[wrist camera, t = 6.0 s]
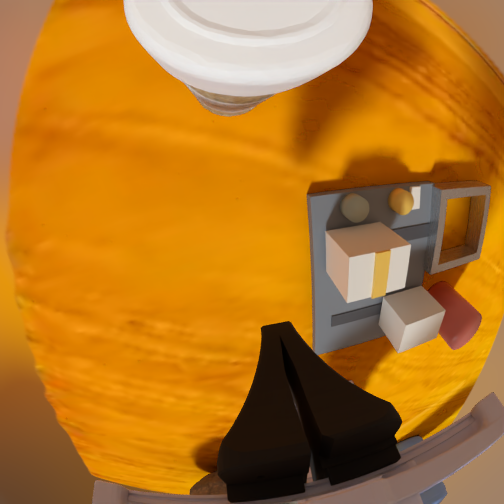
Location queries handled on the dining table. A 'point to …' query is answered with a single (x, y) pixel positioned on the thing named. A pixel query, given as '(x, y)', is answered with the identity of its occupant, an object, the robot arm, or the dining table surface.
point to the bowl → (213, 486)
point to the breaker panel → (353, 214)
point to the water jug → (434, 493)
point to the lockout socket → (475, 230)
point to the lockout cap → (455, 315)
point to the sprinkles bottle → (247, 44)
